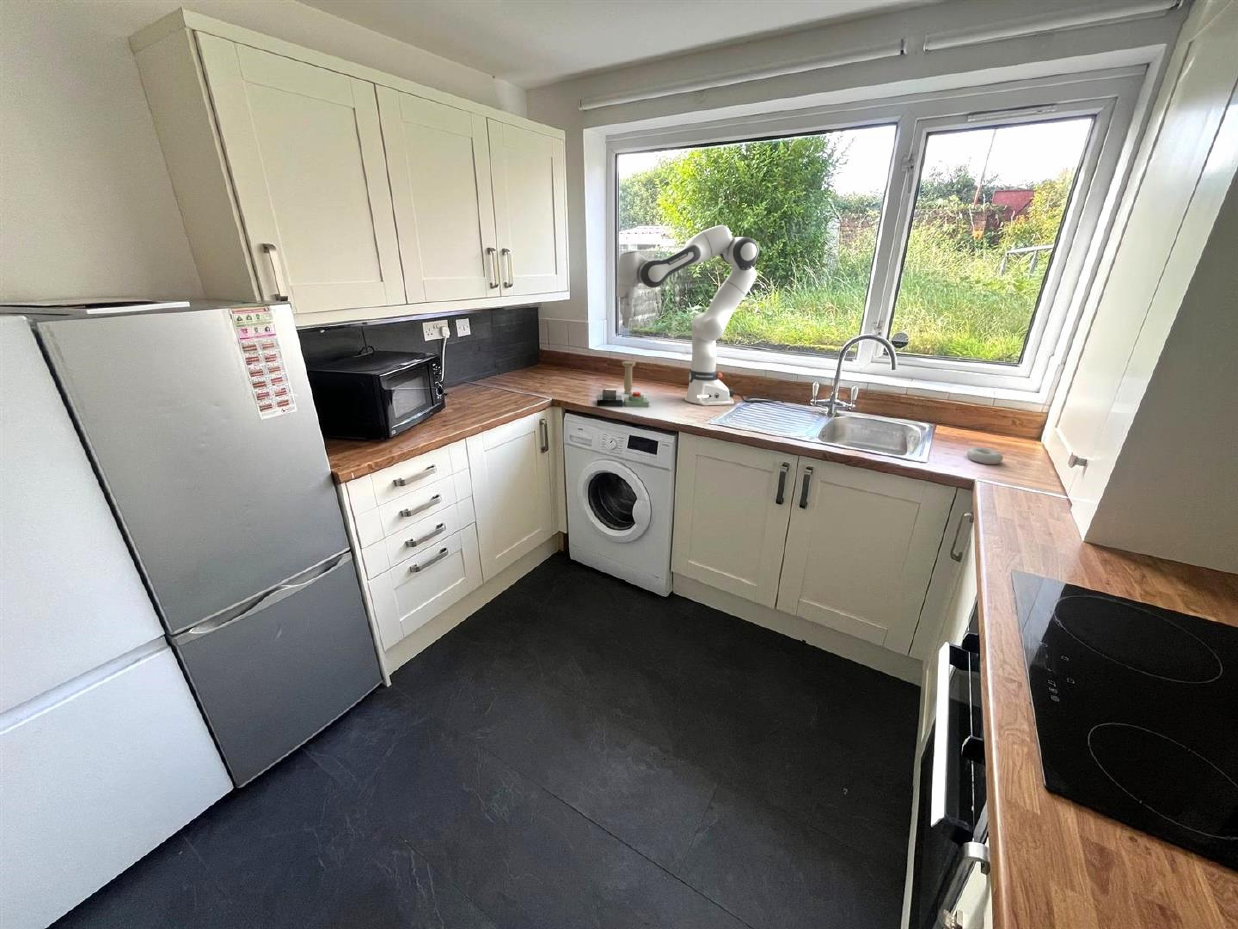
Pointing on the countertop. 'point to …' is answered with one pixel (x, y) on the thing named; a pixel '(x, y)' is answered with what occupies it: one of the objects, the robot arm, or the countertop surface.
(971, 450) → the donut
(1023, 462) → the countertop surface
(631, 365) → the handle
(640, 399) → the switch block
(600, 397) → the hob panel
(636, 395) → the button
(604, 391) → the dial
